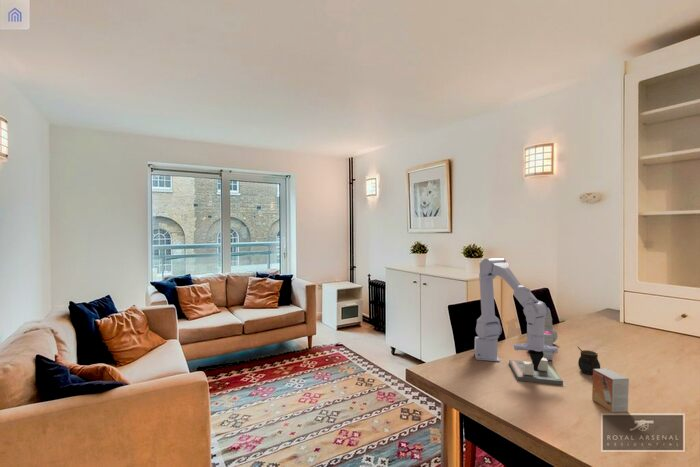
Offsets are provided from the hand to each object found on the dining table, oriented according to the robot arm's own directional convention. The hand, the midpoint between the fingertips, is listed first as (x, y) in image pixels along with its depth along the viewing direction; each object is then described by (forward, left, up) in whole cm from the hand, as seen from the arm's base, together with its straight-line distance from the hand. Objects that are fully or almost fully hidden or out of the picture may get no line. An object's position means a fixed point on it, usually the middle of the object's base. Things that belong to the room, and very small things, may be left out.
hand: (535, 370), depth 131 cm
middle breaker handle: (+4, +5, -1) cm, 7 cm away
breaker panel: (+1, +5, -3) cm, 7 cm away
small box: (+18, -16, -4) cm, 24 cm away
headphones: (+13, +39, -4) cm, 41 cm away
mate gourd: (+22, +11, -4) cm, 25 cm away
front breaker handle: (-2, 0, -1) cm, 3 cm away
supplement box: (+9, +23, -4) cm, 25 cm away
